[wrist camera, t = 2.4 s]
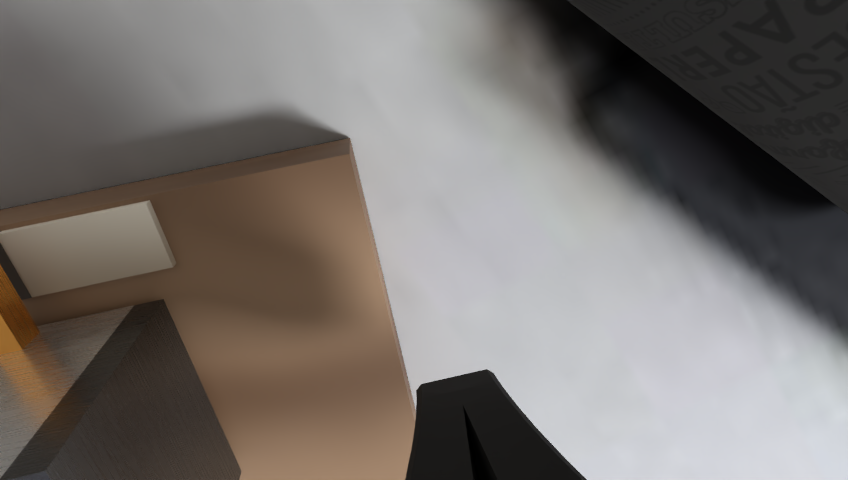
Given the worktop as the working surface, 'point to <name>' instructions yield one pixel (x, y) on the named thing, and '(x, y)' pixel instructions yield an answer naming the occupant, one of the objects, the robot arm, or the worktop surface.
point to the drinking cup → (754, 71)
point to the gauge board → (244, 301)
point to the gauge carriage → (104, 399)
